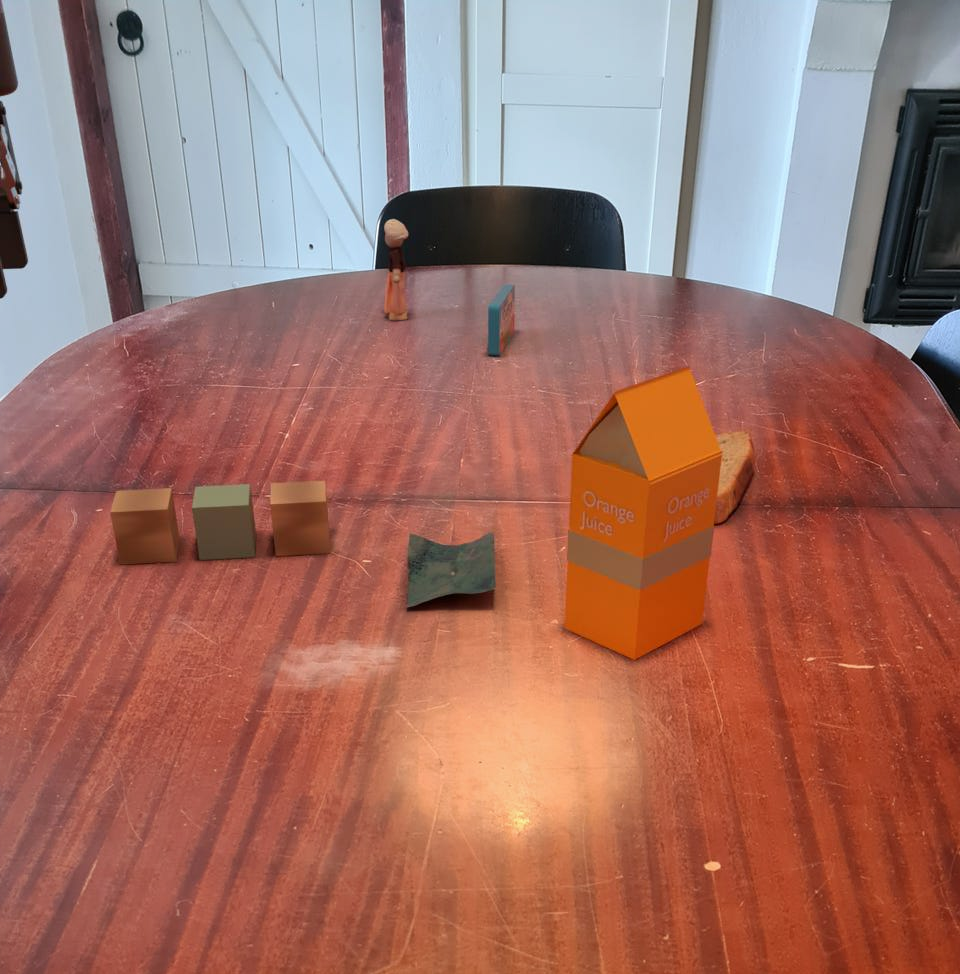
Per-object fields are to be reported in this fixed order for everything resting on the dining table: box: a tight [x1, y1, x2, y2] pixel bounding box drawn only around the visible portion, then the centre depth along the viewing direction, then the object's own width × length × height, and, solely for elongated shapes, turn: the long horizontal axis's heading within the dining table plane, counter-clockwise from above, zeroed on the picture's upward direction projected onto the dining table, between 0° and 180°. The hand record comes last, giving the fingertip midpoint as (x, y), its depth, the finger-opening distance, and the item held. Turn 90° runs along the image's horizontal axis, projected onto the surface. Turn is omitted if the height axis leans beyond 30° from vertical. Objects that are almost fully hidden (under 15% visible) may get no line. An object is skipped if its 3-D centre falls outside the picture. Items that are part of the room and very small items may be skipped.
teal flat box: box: [487, 283, 516, 357], centre depth 164 cm, size 12×2×6 cm, turn 169°
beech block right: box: [269, 480, 332, 557], centre depth 114 cm, size 5×5×5 cm
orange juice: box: [564, 365, 723, 661], centre depth 96 cm, size 8×9×20 cm
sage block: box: [191, 483, 257, 561], centre depth 113 cm, size 5×5×5 cm
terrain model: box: [406, 531, 497, 608], centre depth 109 cm, size 13×8×2 cm, turn 0°
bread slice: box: [714, 429, 757, 525], centre depth 126 cm, size 18×18×4 cm
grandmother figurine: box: [383, 218, 409, 321], centre depth 173 cm, size 8×4×13 cm, turn 10°
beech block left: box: [109, 487, 181, 566], centre depth 112 cm, size 5×5×5 cm
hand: (2, 282), depth 88 cm, fingers open, 8 cm apart
